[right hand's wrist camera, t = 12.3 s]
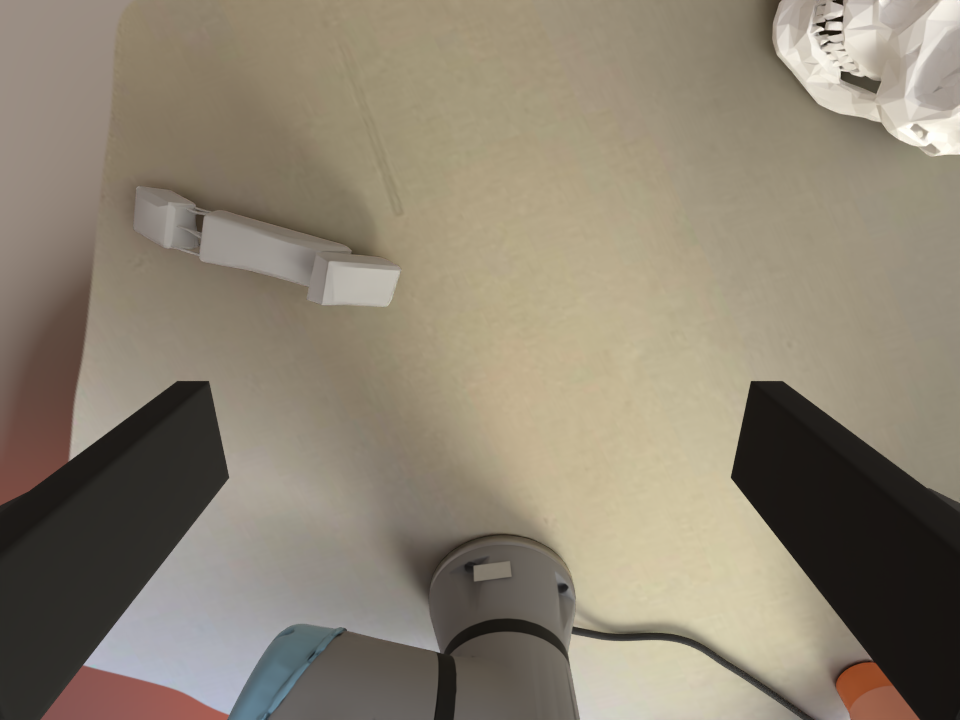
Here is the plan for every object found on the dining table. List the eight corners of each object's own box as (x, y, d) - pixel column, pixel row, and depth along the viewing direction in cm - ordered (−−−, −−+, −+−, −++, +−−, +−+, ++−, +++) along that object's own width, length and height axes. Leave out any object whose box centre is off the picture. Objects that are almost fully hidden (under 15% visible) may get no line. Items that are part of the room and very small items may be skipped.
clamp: (406, 261, 42) (383, 276, 35) (394, 305, 43) (370, 327, 37) (167, 181, 41) (101, 182, 35) (163, 227, 43) (98, 236, 36)
